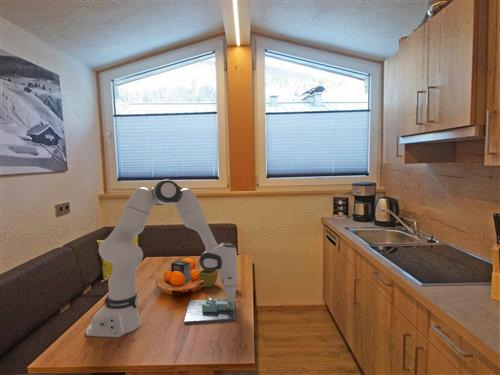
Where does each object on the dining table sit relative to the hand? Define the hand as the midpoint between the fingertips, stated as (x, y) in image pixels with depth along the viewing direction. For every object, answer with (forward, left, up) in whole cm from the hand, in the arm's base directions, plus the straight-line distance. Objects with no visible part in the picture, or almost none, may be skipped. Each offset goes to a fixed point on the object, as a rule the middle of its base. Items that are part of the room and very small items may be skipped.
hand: (229, 303), depth 159 cm
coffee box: (-27, +26, -3) cm, 38 cm away
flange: (-5, -2, -1) cm, 6 cm away
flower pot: (-12, +31, -3) cm, 33 cm away
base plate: (-9, -2, -3) cm, 9 cm away
